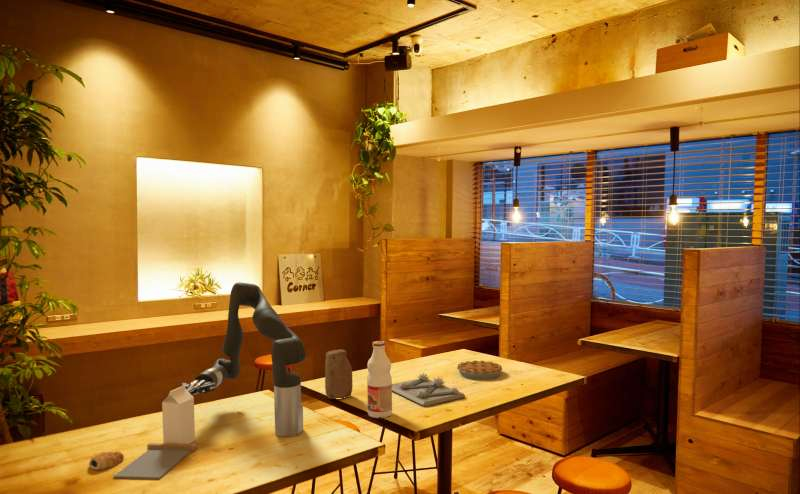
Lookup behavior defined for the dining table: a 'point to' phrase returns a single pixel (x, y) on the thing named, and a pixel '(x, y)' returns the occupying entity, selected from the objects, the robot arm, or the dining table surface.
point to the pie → (479, 369)
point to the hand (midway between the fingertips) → (186, 394)
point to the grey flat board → (156, 461)
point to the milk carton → (178, 417)
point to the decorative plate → (427, 391)
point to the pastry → (105, 460)
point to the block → (338, 374)
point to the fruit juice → (379, 382)
